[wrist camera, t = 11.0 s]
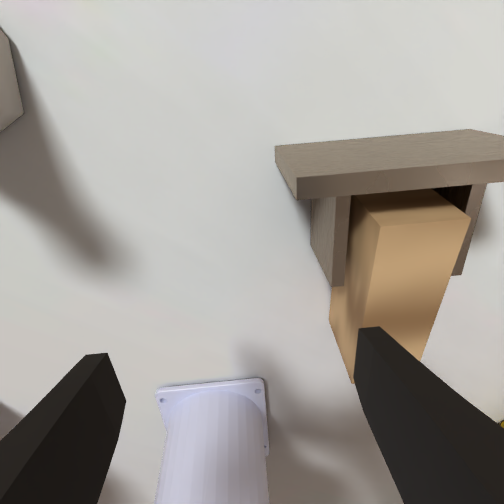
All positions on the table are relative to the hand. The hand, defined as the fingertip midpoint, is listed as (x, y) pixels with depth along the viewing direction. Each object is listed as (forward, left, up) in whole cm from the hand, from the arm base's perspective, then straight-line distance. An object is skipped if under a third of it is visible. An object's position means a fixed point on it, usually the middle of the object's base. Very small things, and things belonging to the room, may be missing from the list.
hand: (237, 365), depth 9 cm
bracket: (+1, -8, -10) cm, 12 cm away
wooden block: (-2, -8, -9) cm, 12 cm away
